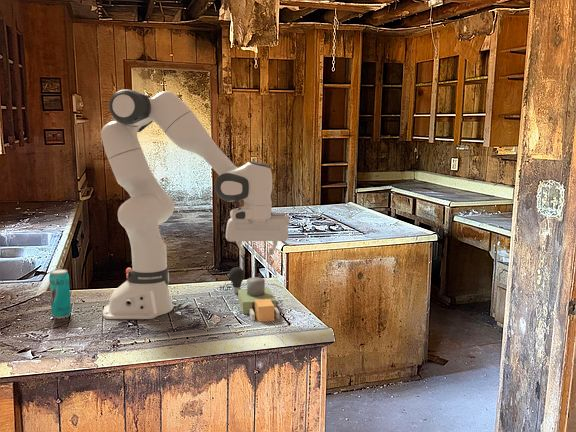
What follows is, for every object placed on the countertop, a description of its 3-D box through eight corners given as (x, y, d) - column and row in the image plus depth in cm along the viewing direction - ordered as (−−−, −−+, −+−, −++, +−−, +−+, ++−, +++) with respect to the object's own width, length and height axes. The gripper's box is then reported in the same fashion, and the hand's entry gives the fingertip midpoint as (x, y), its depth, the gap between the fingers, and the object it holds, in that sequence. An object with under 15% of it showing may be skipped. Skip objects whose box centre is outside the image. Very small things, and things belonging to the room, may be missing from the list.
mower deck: (245, 321, 169) (245, 293, 167) (238, 300, 189) (237, 275, 187) (279, 318, 171) (279, 291, 170) (268, 298, 191) (268, 274, 189)
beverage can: (49, 316, 172) (45, 271, 170) (66, 312, 176) (63, 267, 174) (56, 320, 168) (53, 274, 166) (74, 316, 172) (71, 271, 170)
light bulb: (232, 296, 193) (232, 270, 191) (227, 292, 198) (226, 266, 196) (247, 294, 195) (246, 268, 194) (241, 290, 200) (240, 264, 199)
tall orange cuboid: (258, 322, 169) (258, 306, 168) (254, 314, 175) (254, 299, 174) (274, 320, 170) (274, 305, 169) (269, 313, 176) (269, 298, 176)
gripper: (287, 210, 177) (286, 251, 179) (225, 210, 173) (225, 252, 175) (291, 214, 171) (289, 256, 173) (227, 214, 167) (226, 257, 169)
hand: (256, 254), depth 174 cm, fingers open, 8 cm apart
